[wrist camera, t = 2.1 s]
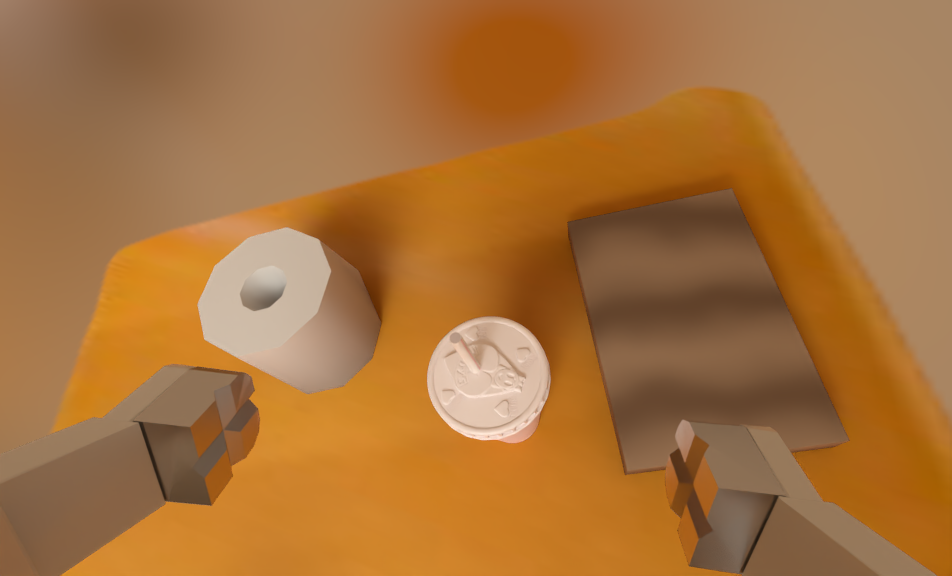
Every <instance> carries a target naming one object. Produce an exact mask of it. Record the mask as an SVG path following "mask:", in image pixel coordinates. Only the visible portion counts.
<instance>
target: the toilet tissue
mask: <svg viewBox="0 0 952 576" xmlns="http://www.w3.org/2000/svg"><path fill="white" fill-rule="evenodd" d="M198 309H199V314H200V319H201V324H202V329H203V335H204V340H206V341H208V342H210V343H212V344H213V345H215V346H217V347H219V348H221V349H222V350H224V351H226V352H228V353H230V354H231V355H233V356H235V357H237V358H239V359H241V360H243V361H245V362H247V363H249V364H250V365H252V366H254V367H256V368H258V369H260V370H262V371H264V372H266V373H268V374H270V375H272V376H274V377H275V378H277V379H279V380H281V381H283V382H285V383H287V384H289V385H291V386H293V387H295V388H297V389H299V390H301V391H302V392H304V393H306V394H310V393H315V392H320V391H324V390H329V389H333V388H338V387H343V386H344V385H345V384H346V383H347V382H348V381H349V380H350V379H351V378H353V377H354V376H355V375H356V374H357V373H358V372H359V371H360V370H361V369H362V368H363V367H364V366H365V365H366V364H367V363H368V362H369V361H370V360H371V359H372V357H373V353H374V350H375V346H376V342H377V338H378V334H379V331H380V327H381V321H380V319H379V317H378V314H377V312H376V310H375V307H374V305H373V303H372V300H371V298H370V296H369V293H368V291H367V289H366V287H365V284H364V282H363V280H362V277H361V275H360V273H359V271H358V270H357V269H356V268H355V267H353V266H352V265H351V264H350V263H348V262H347V261H346V260H344V259H343V258H342V257H341V256H339V255H338V254H337V253H336V252H334V251H333V250H332V249H331V248H329V247H328V246H327V245H325V244H324V243H323V242H322V241H320V240H319V239H317V238H314V237H312V236H309V235H306V234H304V233H301V232H299V231H296V230H293V229H291V228H288V227H286V228H282V229H278V230H275V231H271V232H267V233H263V234H259V235H255V236H252V237H248V238H247V239H246V240H245V241H244V242H242V243H241V244H240V245H239V246H238V247H237V248H235V249H234V250H233V251H232V252H231V253H229V254H228V255H227V256H226V257H225V258H224V259H222V260H221V261H220V262H219V263H218V264H216V265H215V267H214V269H213V271H212V273H211V276H210V278H209V280H208V282H207V284H206V287H205V289H204V291H203V293H202V295H201V298H200V300H199V302H198Z"/></svg>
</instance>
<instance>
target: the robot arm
mask: <svg viewBox="0 0 952 576" xmlns="http://www.w3.org/2000/svg"><path fill="white" fill-rule="evenodd" d="M254 391H255V390H254V386H253V382H252V378H251V376H249V375H248V374H246V373H243V372H235V371H227V370H220V369H212V368H204V367H193V366H186V365H178V364H171V365H167V366H164V367H163V368H161V369H160V370H159V371H158V372H157V373H155V374H154V375H153V376H152V377H151V378H149V379H148V380H147V381H146V382H145V383H143V384H142V385H141V386H140V387H139V388H137V389H136V390H135V391H134V392H133V393H131V394H130V395H129V396H128V397H127V398H126V399H124V400H123V401H122V402H121V403H120V404H118V405H117V406H116V407H115V408H114V409H112V410H111V411H110V412H109V413H108V414H106V415H105V416H104V417H103V418H95V417H93V418H91V419H88V420H86V421H83V422H81V423H78V424H76V425H73V426H70V427H68V428H65V429H63V430H60V431H58V432H55V433H53V434H50V435H48V436H45V437H43V438H40V439H37V440H35V441H33V442H30V443H27V444H25V445H22V446H20V447H17V448H14V449H12V450H9V451H7V452H4V453H2V454H0V576H60V575H61V574H63V573H64V572H66V571H67V570H69V569H70V568H72V567H73V566H75V565H76V564H78V563H79V562H81V561H82V560H84V559H85V558H87V557H88V556H89V555H91V554H92V553H94V552H95V551H97V550H98V549H100V548H101V547H103V546H104V545H106V544H107V543H109V542H110V541H112V540H113V539H115V538H116V537H117V536H119V535H120V534H122V533H123V532H125V531H126V530H128V529H129V528H131V527H132V526H134V525H135V524H137V523H138V522H140V521H141V520H143V519H144V518H145V517H147V516H148V515H150V514H151V513H153V512H154V511H156V510H157V509H159V508H160V507H162V506H163V505H165V501H168V502H178V503H189V504H199V505H210V506H212V505H213V503H214V502H215V500H216V499H217V498H218V496H219V495H220V493H221V492H222V491H223V489H224V488H225V486H226V485H227V484H228V482H229V481H230V479H231V478H232V477H233V474H232V465H234V464H236V463H238V462H239V461H241V460H243V459H245V458H246V457H247V455H248V454H249V452H250V451H251V449H252V448H253V446H254V444H255V441H256V438H257V436H258V433H259V424H260V417H259V412H258V408H257V407H256V406H255V405H254V404H253V403H252V402H251V401H250V400H249V398H250V396H251V395H252V394H253V392H254ZM675 438H676V441H677V443H678V446H679V448H678V449H677V450H675V451H674V452H672V453H671V454H670V455H669V458H668V462H667V466H666V473H665V487H666V493H667V498H668V501H669V505H670V508H671V509H672V510H673V511H674V512H675V513H676V514H677V515H678V516H679V517H680V518H681V521H680V524H679V527H678V530H677V531H678V534H679V537H680V540H681V543H682V546H683V550H684V553H685V556H686V559H687V562H688V565H689V566H691V567H697V568H704V569H710V570H717V571H723V572H730V573H736V574H742V576H937V575H936V574H934V573H933V572H931V571H930V570H928V569H927V568H926V567H924V566H923V565H921V564H920V563H918V562H917V561H916V560H914V559H913V558H911V557H910V556H909V555H907V554H906V553H904V552H903V551H901V550H900V549H899V548H897V547H896V546H894V545H893V544H891V543H890V542H889V541H887V540H886V539H884V538H883V537H881V536H880V535H879V534H877V533H876V532H874V531H873V530H871V529H870V528H869V527H867V526H866V525H864V524H863V523H861V522H860V521H859V520H857V519H856V518H854V517H853V516H851V515H850V514H849V513H847V512H846V511H844V510H843V509H841V508H840V507H839V506H837V505H836V504H834V503H831V502H823V500H822V499H821V497H820V496H819V494H818V493H817V491H816V490H815V488H814V487H813V485H812V484H811V482H810V481H809V479H808V478H807V476H806V475H805V473H804V472H803V470H802V469H801V467H800V466H799V464H798V463H797V461H796V460H795V458H794V457H793V455H792V454H791V452H790V451H789V449H788V448H787V446H786V445H785V443H784V442H783V440H782V439H781V437H780V436H779V434H778V433H777V432H776V431H775V430H774V429H772V428H771V427H763V426H751V425H732V424H722V423H712V422H702V421H692V420H682V421H681V423H680V424H679V426H678V428H677V432H676V435H675Z"/></svg>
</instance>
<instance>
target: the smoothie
mask: <svg viewBox="0 0 952 576" xmlns="http://www.w3.org/2000/svg"><path fill="white" fill-rule="evenodd" d="M550 382H551V376H550V366H549V362H548V360H547V357H546V354H545V352H544V350H543V348H542V346H541V344H540V343H539V341H538V340H537V338H536V337H535V336H534V335H533V334H532V333H531V332H530V331H529V330H528V329H527V328H525V327H524V326H523V325H521V324H519V323H517V322H515V321H513V320H510V319H507V318H503V317H496V316H487V317H479V318H475V319H471V320H468V321H466V322H464V323H462V324H460V325H458V326H457V327H455V328H454V329H452V330H451V331H450V332H449V333H448V334H447V335H446V336H445V337H444V338H443V339H442V340H441V341H440V343H439V344H438V345H437V347H436V349H435V350H434V352H433V355H432V357H431V360H430V363H429V367H428V373H427V385H428V391H429V395H430V399H431V401H432V403H433V405H434V407H435V409H436V411H437V412H438V413H439V415H440V416H441V417H442V419H443V420H444V421H445V422H446V423H447V424H448V425H449V426H450V427H451V428H452V429H454V430H456V431H457V432H459V433H461V434H463V435H465V436H467V437H471V438H475V439H479V440H496V439H497V440H500V441H503V442H507V443H518V442H522V441H524V440H526V439H528V438H529V437H530V436H531V435H532V434H533V433H534V432H535V430H536V428H537V426H538V423H539V419H540V412H541V410H542V408H543V406H544V404H545V402H546V399H547V397H548V393H549V388H550Z"/></svg>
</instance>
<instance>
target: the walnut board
mask: <svg viewBox="0 0 952 576" xmlns="http://www.w3.org/2000/svg"><path fill="white" fill-rule="evenodd" d="M568 235H569V240H570V244H571V249H572V253H573V257H574V261H575V266H576V270H577V274H578V278H579V282H580V287H581V291H582V295H583V299H584V303H585V308H586V312H587V316H588V320H589V324H590V329H591V333H592V337H593V341H594V345H595V350H596V354H597V358H598V362H599V366H600V371H601V375H602V379H603V383H604V387H605V392H606V396H607V400H608V404H609V408H610V413H611V417H612V421H613V425H614V429H615V434H616V438H617V442H618V446H619V450H620V455H621V459H622V463H623V467H624V472H625V475H627V474H635V473H642V472H650V471H657V470H664V469H666V466H667V462H668V458H669V455H670V454H671V453H672V452H674V451H675V450H677V449H678V448H679V446H678V443H677V441H676V438H675V435H676V432H677V428H678V426H679V424H680V423H681V421H682V420H692V421H702V422H712V423H722V424H732V425H751V426H763V427H771V428H772V429H774V430H775V431H776V432H777V433H778V434H779V436H780V437H781V439H782V440H783V442H784V443H785V445H786V446H787V448H788V449H789V451H790V452H791V453H792V452H799V451H807V450H814V449H822V448H829V447H835V446H837V445H840V444H842V443H845V442H848V441H850V440H849V438H848V436H847V434H846V432H845V430H844V428H843V425H842V423H841V421H840V419H839V417H838V415H837V413H836V410H835V408H834V406H833V404H832V402H831V400H830V398H829V395H828V393H827V391H826V389H825V387H824V385H823V383H822V380H821V378H820V376H819V374H818V372H817V370H816V368H815V365H814V363H813V361H812V359H811V357H810V355H809V353H808V350H807V348H806V346H805V344H804V342H803V340H802V338H801V335H800V333H799V331H798V329H797V327H796V325H795V323H794V320H793V318H792V316H791V314H790V312H789V310H788V308H787V305H786V303H785V301H784V299H783V297H782V295H781V293H780V290H779V288H778V286H777V284H776V282H775V280H774V278H773V275H772V273H771V271H770V269H769V267H768V265H767V262H766V260H765V258H764V256H763V254H762V252H761V250H760V247H759V245H758V243H757V241H756V239H755V237H754V235H753V232H752V230H751V228H750V226H749V224H748V222H747V220H746V217H745V215H744V213H743V211H742V209H741V207H740V205H739V202H738V200H737V198H736V196H735V194H734V192H733V190H732V188H730V189H725V190H721V191H716V192H711V193H706V194H701V195H696V196H691V197H687V198H682V199H677V200H672V201H667V202H662V203H657V204H653V205H648V206H643V207H638V208H633V209H628V210H623V211H619V212H614V213H609V214H604V215H599V216H594V217H589V218H585V219H580V220H575V221H570V222H568Z"/></svg>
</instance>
